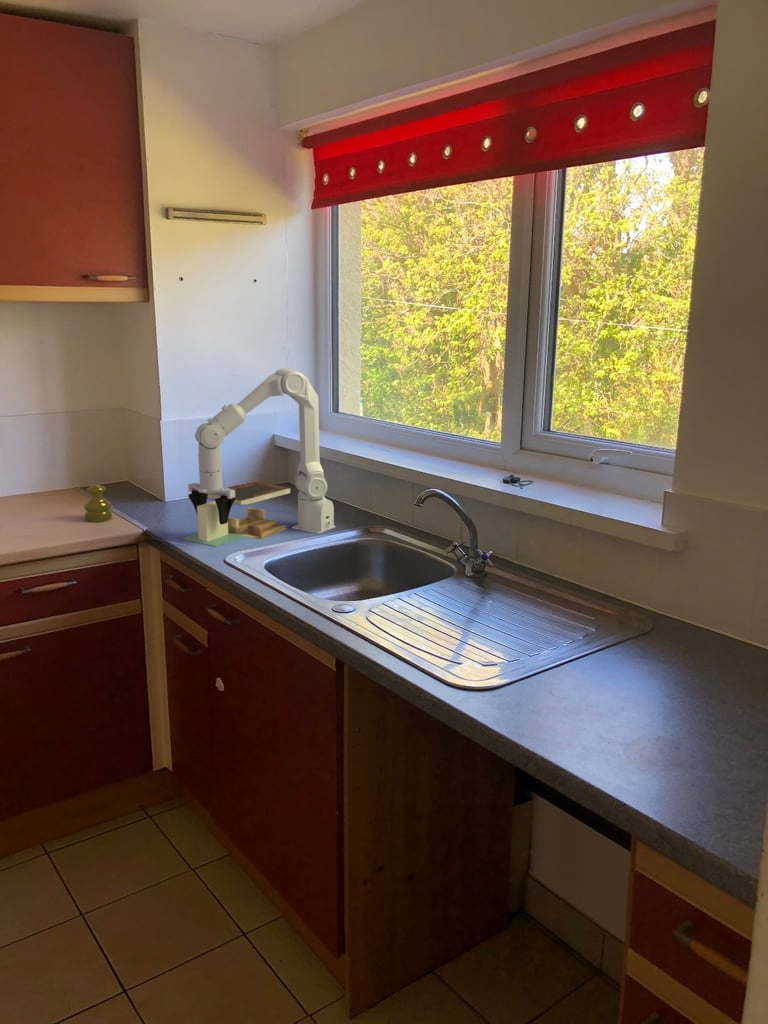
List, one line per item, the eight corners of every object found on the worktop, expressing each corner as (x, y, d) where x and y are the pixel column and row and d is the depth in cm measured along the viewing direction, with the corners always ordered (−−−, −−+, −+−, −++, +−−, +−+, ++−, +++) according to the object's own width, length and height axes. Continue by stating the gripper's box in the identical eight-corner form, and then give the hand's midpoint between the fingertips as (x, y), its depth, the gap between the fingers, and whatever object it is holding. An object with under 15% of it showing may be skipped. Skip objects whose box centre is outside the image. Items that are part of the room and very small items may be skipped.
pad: (244, 537, 221) (244, 535, 221) (216, 548, 212) (215, 546, 212) (211, 530, 227) (211, 528, 227) (181, 540, 218) (181, 538, 218)
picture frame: (241, 507, 255) (290, 495, 271) (241, 499, 254) (290, 487, 271) (205, 499, 264) (254, 487, 281) (204, 491, 263) (254, 480, 280)
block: (228, 534, 222) (226, 501, 220) (207, 541, 216) (205, 507, 213) (219, 532, 224) (218, 500, 222) (198, 539, 217) (196, 506, 215)
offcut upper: (277, 525, 227) (277, 521, 227) (259, 532, 221) (259, 527, 221) (265, 523, 229) (265, 519, 229) (247, 529, 223) (247, 525, 223)
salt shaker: (116, 516, 241) (114, 482, 239) (105, 523, 234) (103, 488, 232) (92, 515, 242) (89, 481, 240) (80, 522, 235) (77, 487, 232)
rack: (288, 530, 229) (288, 514, 228) (259, 540, 219) (259, 524, 218) (249, 522, 236) (248, 507, 235) (220, 532, 226) (219, 516, 225)
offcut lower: (280, 529, 228) (280, 525, 228) (261, 536, 221) (260, 532, 221) (267, 527, 230) (266, 522, 230) (247, 533, 224) (247, 529, 223)
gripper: (178, 469, 216) (181, 520, 219) (220, 476, 208) (222, 529, 212) (198, 465, 221) (200, 514, 225) (239, 471, 214) (241, 522, 217)
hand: (212, 521), depth 219 cm, fingers open, 7 cm apart
